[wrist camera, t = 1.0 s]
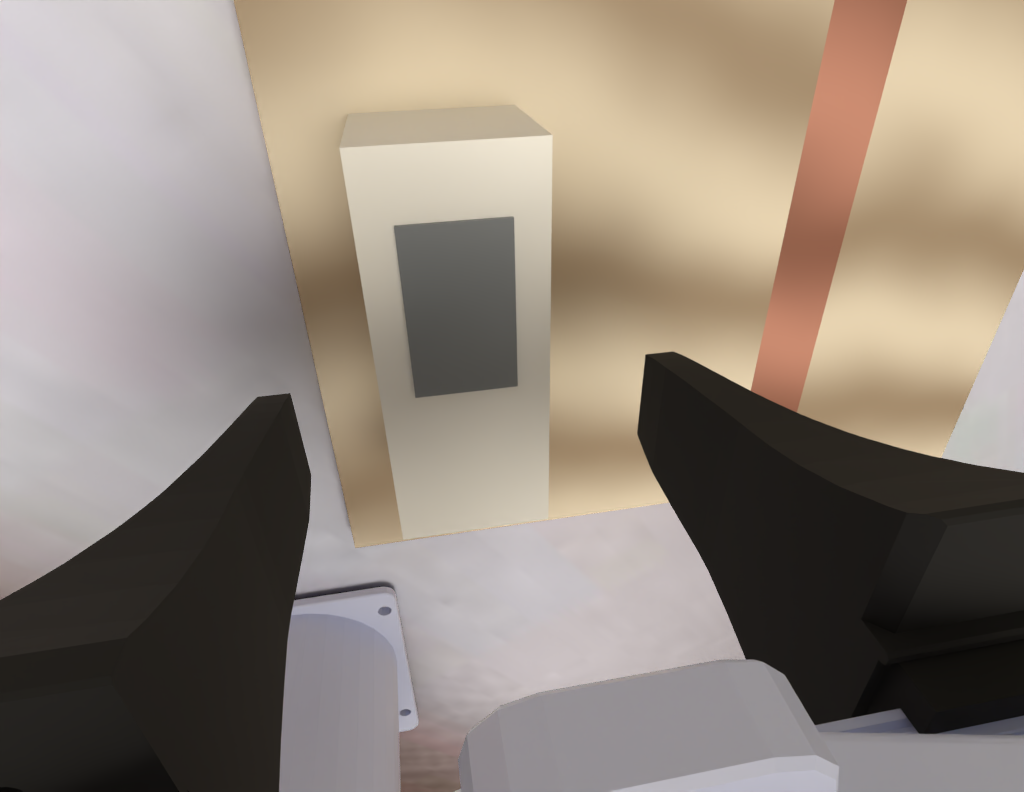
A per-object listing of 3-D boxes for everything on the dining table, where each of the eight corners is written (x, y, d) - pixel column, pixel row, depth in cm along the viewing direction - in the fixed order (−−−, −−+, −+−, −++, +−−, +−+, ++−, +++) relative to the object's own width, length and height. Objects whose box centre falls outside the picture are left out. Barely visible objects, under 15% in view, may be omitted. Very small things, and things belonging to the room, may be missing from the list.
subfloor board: (920, 448, 26) (938, 463, 25) (356, 528, 23) (355, 548, 22) (1147, -103, 16) (1188, -108, 16) (221, -96, 13) (210, -101, 12)
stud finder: (521, 435, 21) (549, 520, 17) (399, 450, 20) (403, 542, 17) (514, 105, 15) (553, 136, 12) (348, 113, 15) (339, 148, 11)
